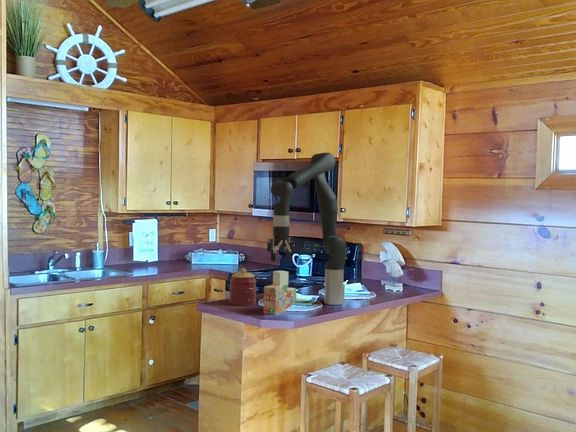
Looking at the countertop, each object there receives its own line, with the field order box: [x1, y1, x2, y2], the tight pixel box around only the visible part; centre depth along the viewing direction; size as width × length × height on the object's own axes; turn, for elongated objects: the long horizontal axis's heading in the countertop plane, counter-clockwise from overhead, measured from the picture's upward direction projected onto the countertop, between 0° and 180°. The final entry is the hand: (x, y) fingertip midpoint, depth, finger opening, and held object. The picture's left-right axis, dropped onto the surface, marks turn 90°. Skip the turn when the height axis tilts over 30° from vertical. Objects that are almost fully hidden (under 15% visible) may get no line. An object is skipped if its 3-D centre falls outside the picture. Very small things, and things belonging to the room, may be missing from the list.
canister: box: [228, 268, 257, 307], centre depth 267 cm, size 13×13×18 cm
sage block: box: [272, 270, 289, 286], centre depth 254 cm, size 5×5×6 cm
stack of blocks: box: [262, 283, 297, 316], centre depth 256 cm, size 21×6×12 cm, turn 153°
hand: (280, 260), depth 253 cm, fingers open, 8 cm apart
